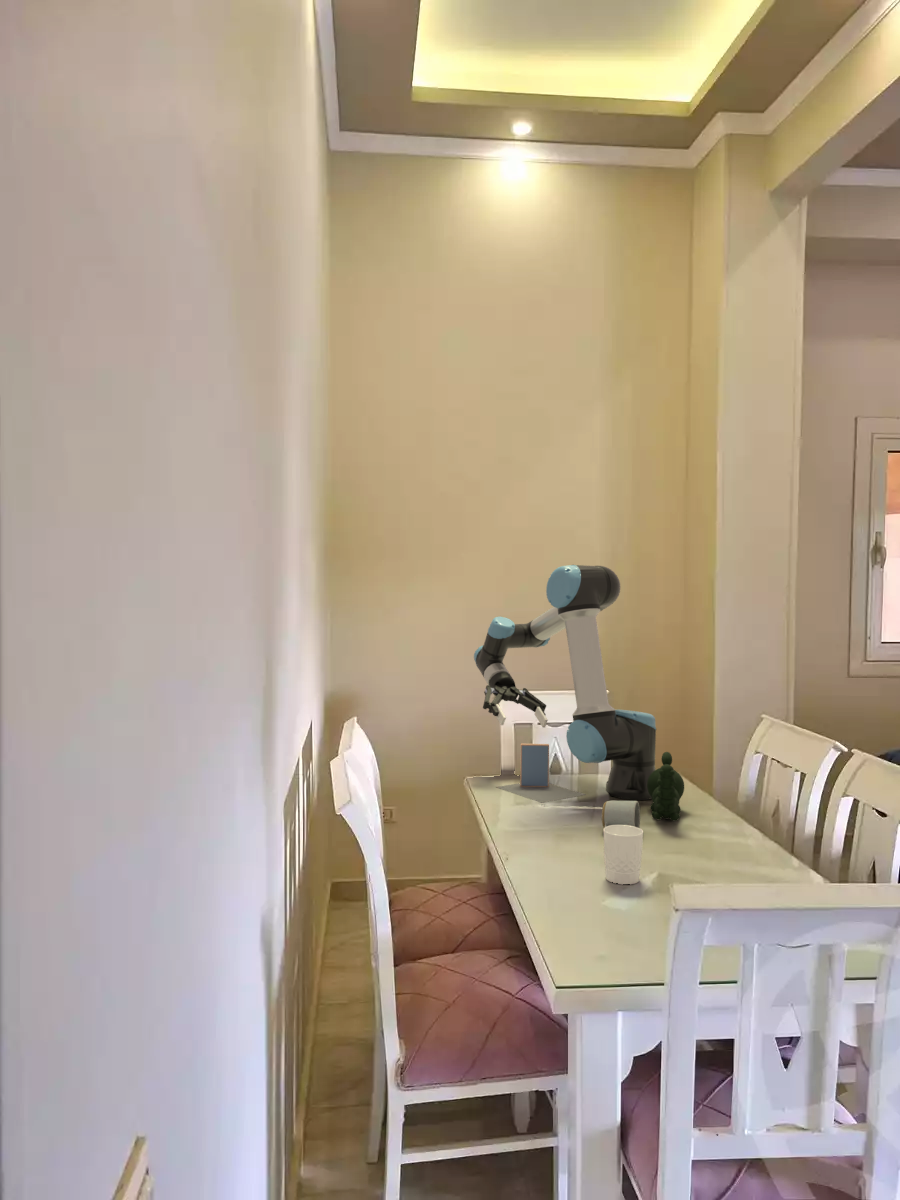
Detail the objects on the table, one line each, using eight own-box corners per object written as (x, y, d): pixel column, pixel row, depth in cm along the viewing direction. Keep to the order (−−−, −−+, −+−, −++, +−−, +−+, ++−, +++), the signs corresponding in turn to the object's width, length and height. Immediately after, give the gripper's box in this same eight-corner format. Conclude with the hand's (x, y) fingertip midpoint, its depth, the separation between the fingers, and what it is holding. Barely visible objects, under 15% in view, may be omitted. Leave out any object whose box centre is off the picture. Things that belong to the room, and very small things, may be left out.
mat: (586, 797, 246) (586, 794, 246) (541, 805, 237) (541, 802, 237) (539, 782, 262) (539, 780, 262) (495, 789, 253) (495, 787, 253)
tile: (520, 785, 256) (520, 743, 255) (548, 785, 255) (548, 743, 255) (520, 786, 254) (520, 744, 254) (548, 787, 254) (549, 745, 253)
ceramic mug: (606, 825, 219) (606, 794, 218) (640, 829, 216) (640, 797, 215) (597, 838, 209) (598, 806, 209) (633, 842, 206) (633, 809, 206)
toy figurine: (685, 836, 216) (682, 801, 241) (687, 760, 214) (684, 732, 238) (645, 833, 218) (647, 798, 243) (647, 757, 216) (648, 730, 240)
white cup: (614, 870, 186) (615, 822, 186) (649, 878, 181) (650, 829, 181) (595, 879, 180) (596, 830, 180) (630, 889, 175) (631, 838, 175)
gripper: (531, 693, 282) (558, 734, 264) (459, 688, 272) (481, 731, 255) (539, 673, 279) (566, 714, 261) (466, 667, 269) (489, 709, 252)
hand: (524, 722), depth 258 cm, fingers open, 13 cm apart
